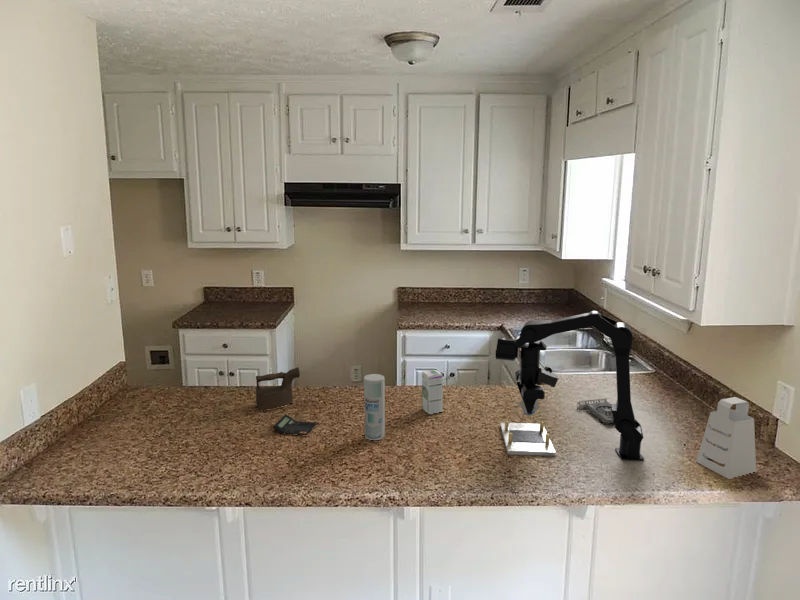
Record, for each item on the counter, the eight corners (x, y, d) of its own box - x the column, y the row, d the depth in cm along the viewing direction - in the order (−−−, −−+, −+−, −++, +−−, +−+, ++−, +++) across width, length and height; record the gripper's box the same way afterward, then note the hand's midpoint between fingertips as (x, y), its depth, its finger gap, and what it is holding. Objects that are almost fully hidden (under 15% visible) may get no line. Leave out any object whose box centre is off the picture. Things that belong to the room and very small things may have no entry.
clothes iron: (302, 405, 197) (301, 370, 194) (258, 412, 191) (256, 376, 188) (297, 398, 204) (296, 364, 201) (255, 404, 198) (253, 369, 195)
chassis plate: (555, 455, 159) (556, 442, 158) (507, 454, 160) (508, 441, 159) (542, 427, 178) (543, 415, 177) (500, 425, 179) (500, 414, 178)
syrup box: (443, 412, 190) (443, 373, 187) (427, 415, 188) (428, 375, 185) (436, 406, 195) (436, 368, 192) (421, 409, 193) (421, 370, 190)
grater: (695, 461, 155) (703, 396, 151) (722, 455, 159) (730, 391, 155) (729, 479, 146) (738, 410, 142) (756, 472, 149) (765, 404, 145)
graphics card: (575, 400, 194) (606, 397, 196) (575, 409, 195) (605, 406, 196) (599, 419, 178) (633, 416, 179) (599, 430, 178) (632, 426, 180)
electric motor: (514, 413, 167) (514, 397, 166) (522, 408, 171) (523, 393, 170) (534, 419, 163) (534, 403, 162) (542, 414, 166) (542, 399, 165)
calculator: (306, 437, 172) (306, 428, 171) (272, 434, 174) (272, 425, 173) (316, 425, 181) (316, 416, 180) (284, 422, 183) (284, 414, 182)
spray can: (387, 433, 174) (387, 374, 170) (381, 442, 167) (380, 381, 164) (368, 431, 175) (367, 373, 171) (361, 439, 169) (360, 379, 165)
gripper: (563, 372, 154) (560, 423, 157) (550, 353, 172) (548, 399, 175) (524, 371, 155) (522, 422, 158) (515, 353, 173) (513, 398, 176)
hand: (527, 410), depth 167 cm, fingers closed on electric motor, 5 cm apart
